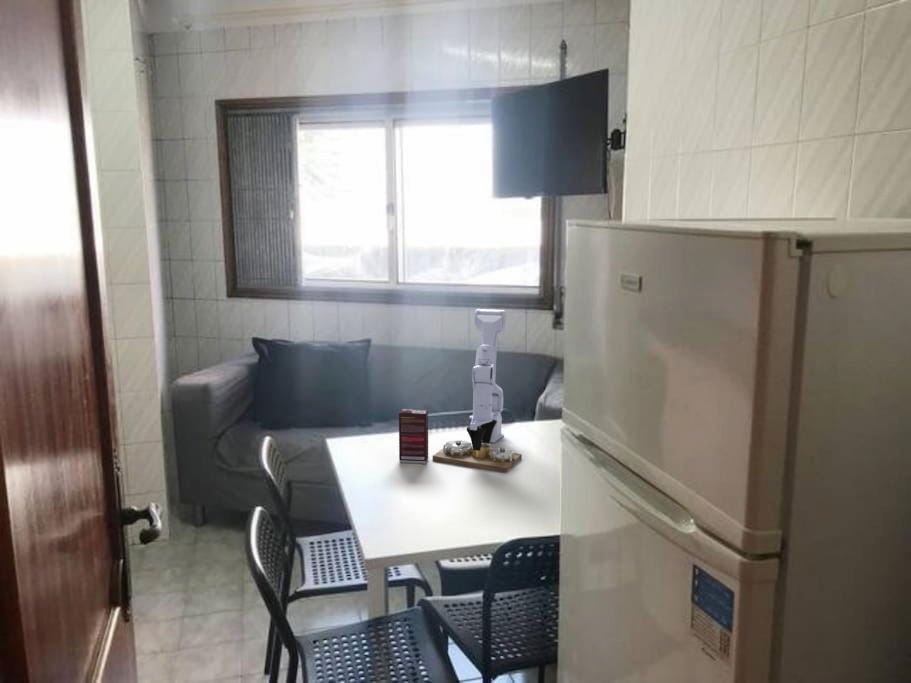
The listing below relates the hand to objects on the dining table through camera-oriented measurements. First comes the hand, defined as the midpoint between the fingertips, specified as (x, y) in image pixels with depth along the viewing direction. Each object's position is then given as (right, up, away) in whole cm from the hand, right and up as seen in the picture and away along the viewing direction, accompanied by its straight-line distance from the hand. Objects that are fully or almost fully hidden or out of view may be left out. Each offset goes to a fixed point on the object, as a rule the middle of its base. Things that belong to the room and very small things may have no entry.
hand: (481, 446), depth 232 cm
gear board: (-1, -4, +1) cm, 5 cm away
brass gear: (0, -3, +1) cm, 3 cm away
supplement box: (-21, -5, -1) cm, 21 cm away
